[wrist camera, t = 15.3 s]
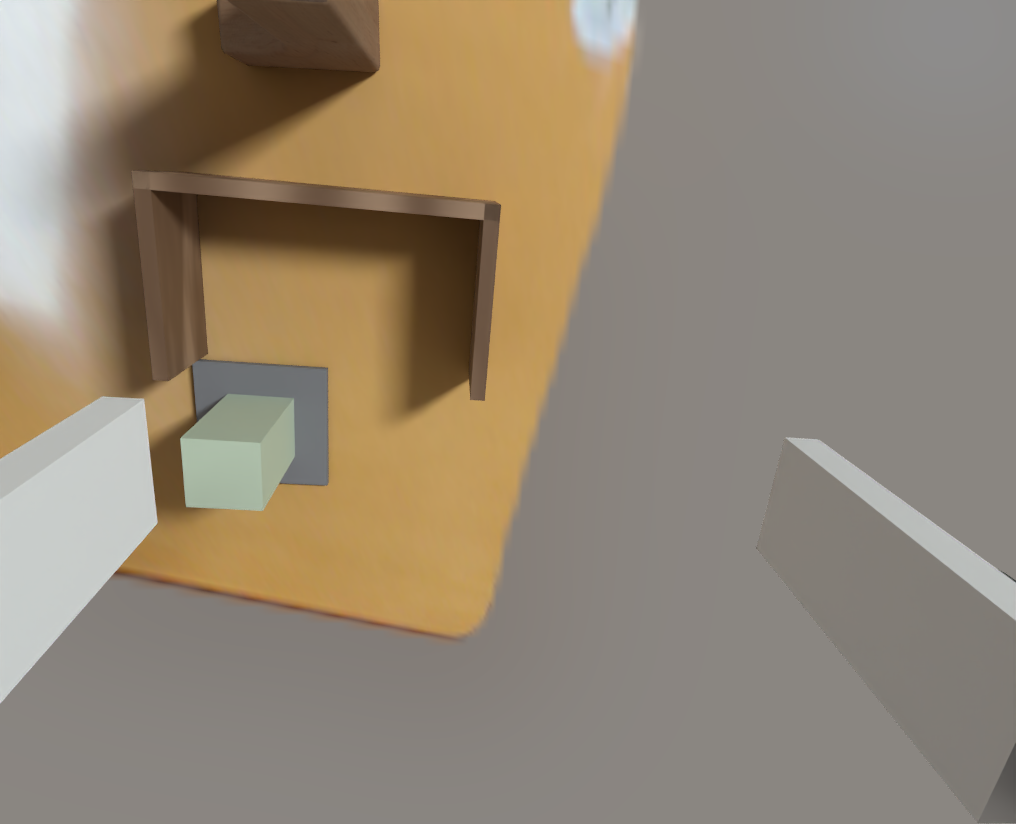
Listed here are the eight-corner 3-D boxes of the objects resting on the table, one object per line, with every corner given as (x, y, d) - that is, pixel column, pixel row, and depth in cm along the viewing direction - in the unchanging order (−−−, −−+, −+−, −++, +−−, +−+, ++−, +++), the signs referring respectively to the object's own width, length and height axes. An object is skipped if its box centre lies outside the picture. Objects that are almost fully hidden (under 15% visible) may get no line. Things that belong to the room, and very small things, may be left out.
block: (231, 452, 51) (185, 507, 42) (227, 393, 49) (180, 438, 41) (294, 456, 51) (262, 510, 43) (293, 398, 50) (260, 442, 41)
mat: (203, 476, 52) (201, 479, 52) (194, 359, 49) (192, 360, 48) (328, 482, 53) (327, 485, 53) (327, 367, 50) (326, 369, 49)
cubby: (194, 352, 48) (153, 379, 42) (179, 171, 44) (131, 170, 38) (481, 371, 51) (484, 400, 44) (494, 201, 46) (500, 204, 40)
